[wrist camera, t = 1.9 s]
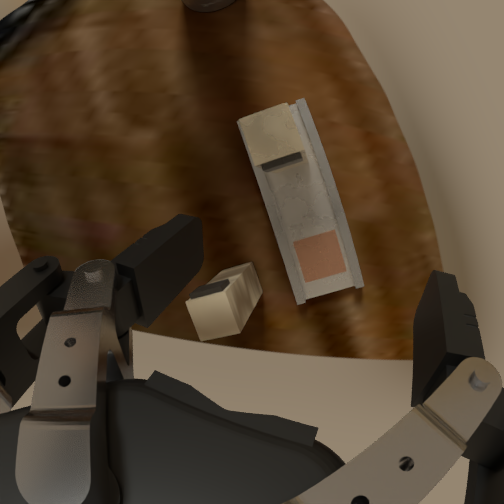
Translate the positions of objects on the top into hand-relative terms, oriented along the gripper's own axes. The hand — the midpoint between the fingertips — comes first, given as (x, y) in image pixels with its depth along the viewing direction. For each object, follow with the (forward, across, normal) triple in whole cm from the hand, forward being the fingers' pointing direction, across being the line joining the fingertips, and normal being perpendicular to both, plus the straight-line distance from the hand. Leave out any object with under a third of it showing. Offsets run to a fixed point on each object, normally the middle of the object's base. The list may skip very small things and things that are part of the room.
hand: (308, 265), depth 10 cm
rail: (+25, +5, +8) cm, 27 cm away
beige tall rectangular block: (+21, +11, +18) cm, 30 cm away
